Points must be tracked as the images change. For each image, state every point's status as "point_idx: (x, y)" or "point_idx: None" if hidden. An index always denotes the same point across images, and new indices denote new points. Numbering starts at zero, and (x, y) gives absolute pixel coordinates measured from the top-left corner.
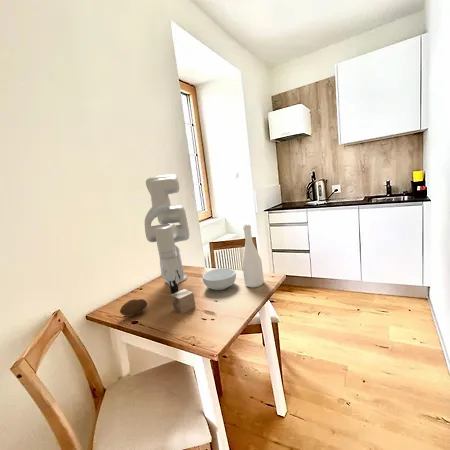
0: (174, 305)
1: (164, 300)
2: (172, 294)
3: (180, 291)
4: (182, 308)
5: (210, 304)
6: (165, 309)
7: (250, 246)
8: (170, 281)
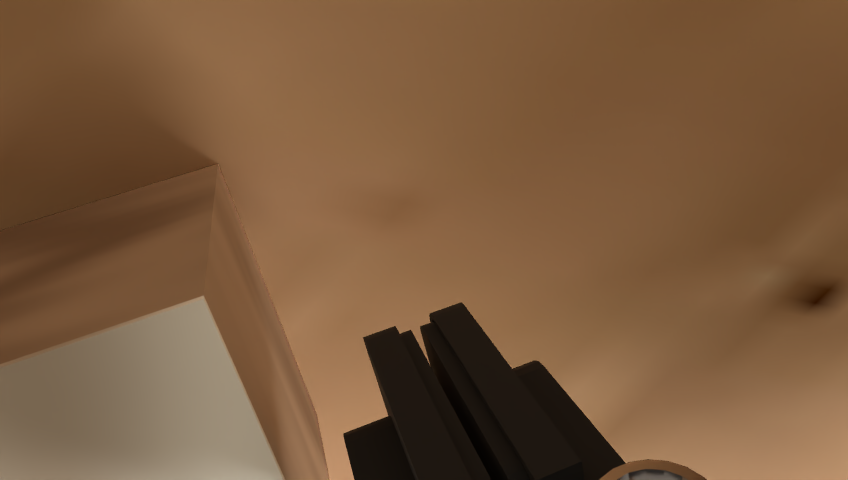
0: (130, 221)
1: (724, 100)
2: (188, 352)
3: None
4: None
5: None
6: (341, 20)
7: None
8: None
